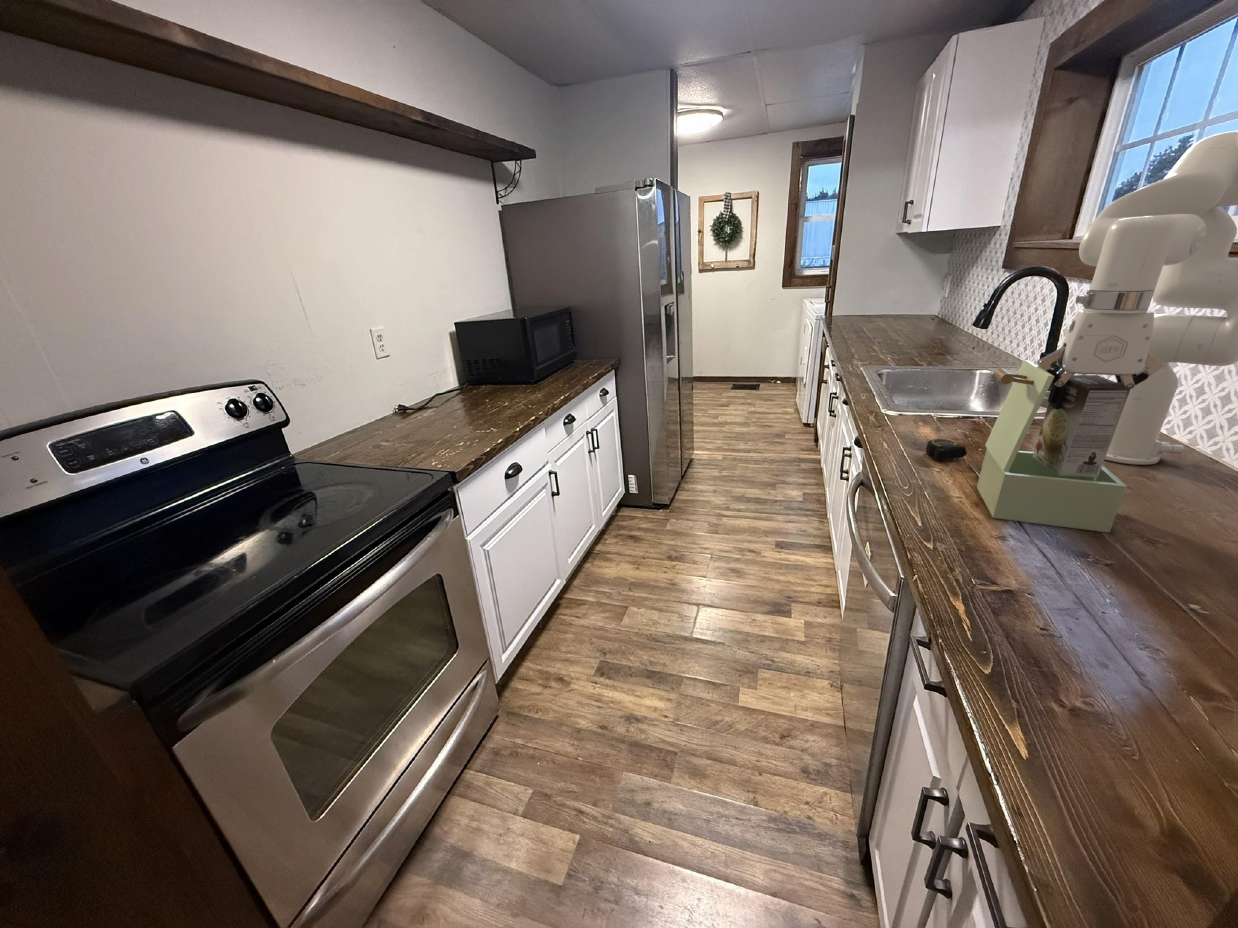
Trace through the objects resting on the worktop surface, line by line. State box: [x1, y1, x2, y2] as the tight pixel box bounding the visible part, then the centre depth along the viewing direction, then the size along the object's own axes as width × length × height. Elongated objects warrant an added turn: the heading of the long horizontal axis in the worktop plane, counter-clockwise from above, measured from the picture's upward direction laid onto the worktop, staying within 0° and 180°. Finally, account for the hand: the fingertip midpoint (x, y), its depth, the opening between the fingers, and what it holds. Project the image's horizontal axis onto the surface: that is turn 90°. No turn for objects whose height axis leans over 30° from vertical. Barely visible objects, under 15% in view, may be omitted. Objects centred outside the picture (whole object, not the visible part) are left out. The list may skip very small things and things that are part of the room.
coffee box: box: [1033, 374, 1131, 477], centre depth 87 cm, size 9×6×16 cm
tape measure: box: [925, 438, 968, 461], centre depth 118 cm, size 7×7×4 cm
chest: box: [976, 448, 1128, 534], centre depth 93 cm, size 17×14×9 cm
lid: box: [984, 359, 1054, 472], centre depth 91 cm, size 18×14×6 cm
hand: (1082, 408), depth 86 cm, fingers closed on coffee box, 7 cm apart
